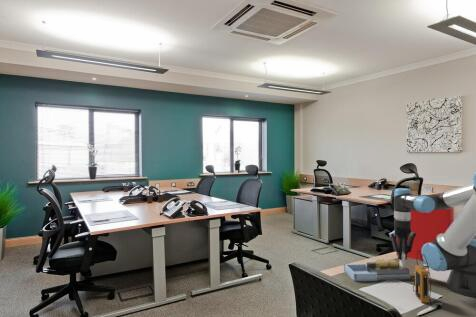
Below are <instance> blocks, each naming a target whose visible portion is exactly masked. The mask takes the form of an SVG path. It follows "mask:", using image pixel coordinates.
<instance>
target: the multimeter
mask: <svg viewBox="0 0 476 317" xmlns="http://www.w3.org/2000/svg"><path fill="white" fill-rule="evenodd" d="M418 253H420V252H419V250H418ZM420 255H421V254H420ZM422 255H424V254H422ZM417 256H418V254H417ZM424 257H425V255H424ZM425 259H426V257H425ZM423 262H424V261H421V260H420V264H418V262H416V264H415V265H414V284H413V286H412V291H413V292H414V293H415V297H417V299H419V301H420V302H421V303H426V304H428V303H429V306H430V307H431V308H433V306H432V304H431V302H432V301H430V299H432V300H436V301H438V302H440V304H441V306H442V304H443V303H445V304H447V302H446V301H443V300H441V299H438V298H433V297H431V293H432V292H431V289H432V278H431V273H430V267H428V263H427V264H426V265H427V268H425V267H424V264H423ZM426 262H427V260H426ZM439 308H440V307H438V306H437V307H436V309H439Z"/></svg>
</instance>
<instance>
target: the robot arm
mask: <svg viewBox="0 0 476 317" xmlns="http://www.w3.org/2000/svg"><path fill="white" fill-rule="evenodd" d="M472 179H473V181H472V182H473V183H469V184H466V185H463V186H460V187H457V188H453V189H451V190H447V191H444V192H440V193H436V194H435V193H433V194H415V193H414V194H413V193H412V190H411V189H410V188H403V187H402V188H401V187H400V188H395V189H394V191H393V192H394V193H393V218H394V219H393V226H394V229H392V230H393V231H392V232H389V233H388V235H389V237H390V240H391V245H392V247H393V251H394V252H396V254H397V253H398V255H397V258H398V260H399V261H398V263H399V267H401V268H406V260H407V259H408V257H407V254H408V252H411V249H412V245H413V241H414V238H415V236H416V234H415V233H413V232H412V231H411V221H410V219H411V210H415V211H419V212H422V213H423V212H424V213H430V212H431V211H433V210H447V209H452V208H453V207H454V208H456V207H459V206H462V205H464V206H463V208H462V209H461V210H460V212H458V214H457V216H456V217H455V218H454V221H453V222H452V224H451V225H450V226H449V228H448V229H447V230H446V232H445V233H444V234H439V235H437V237H436V238H435V240H434V241H433V242H432V243H427V244H425V245H423V247H422V254H424V255H425V257H426V259H425V257H424V255H422V256H423V259H424V261H423V262H424V263H425V264H426V265H427V263H428V266H427V268H428V267H429V269H431V270H433V271H436V272H445V271H446V272H447V271H450V272H449V275H448V278H447V279H446V287H447V288H448V289H449V290H450V291H453V292H455V293H457V294H460V295H462V296H468V297H472V298H473V297H474V298H476V238H475V237H476V171H475V172H474V174H473V178H472ZM396 236H397V242H396ZM408 236H409V239H408ZM407 240H408V243H407ZM402 251H403V252H402ZM426 260H427V262H426Z"/></svg>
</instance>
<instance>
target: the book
mask: <svg viewBox="0 0 476 317" xmlns="http://www.w3.org/2000/svg"><path fill="white" fill-rule="evenodd" d="M454 208H455V207H453V208H452V209H447V210H433V211H431V212H430V213H424V212H423V213H422V212H419V211H415V210H411V219H410V221H411V231H412V232H413V233H415V234H416V236H415V238H414V241H413V245H412V249H411V252H408V254H407V259H413V260H416V261H420V262H421V261H422V262H425V261H424V259H423V256H422V247H423V245H425V244H427V243H432V242H433V241H434V240H435V238H436V237H437V235H439V234H444V233H445V232H446V230H447V229H448V228H449V226H450V225H451V224H452V222H453V221H454V220H455V218H454V211H455V209H454ZM395 238H396V242H397V236H396V235H395ZM408 239H409V236H408ZM407 243H408V240H407ZM418 250H419V252H420V253H418ZM402 252H403V251H402ZM417 254H418V256H417ZM420 254H421V255H420ZM396 256H398V253H397V252H396Z"/></svg>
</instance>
